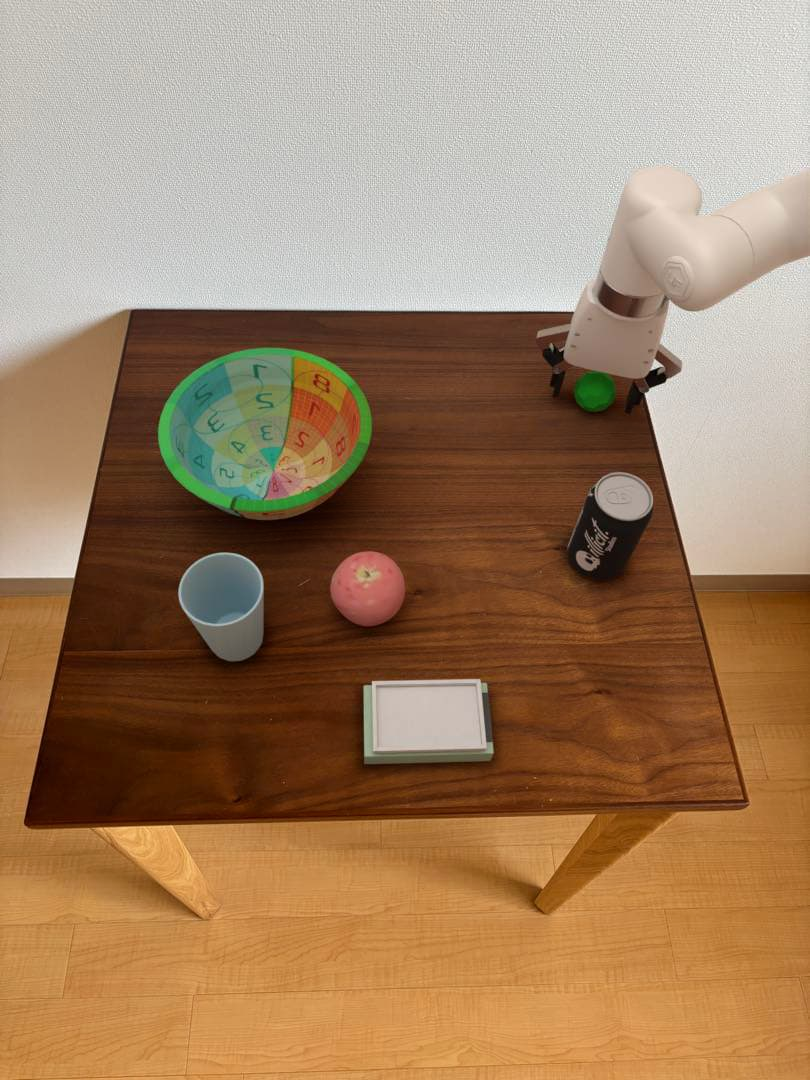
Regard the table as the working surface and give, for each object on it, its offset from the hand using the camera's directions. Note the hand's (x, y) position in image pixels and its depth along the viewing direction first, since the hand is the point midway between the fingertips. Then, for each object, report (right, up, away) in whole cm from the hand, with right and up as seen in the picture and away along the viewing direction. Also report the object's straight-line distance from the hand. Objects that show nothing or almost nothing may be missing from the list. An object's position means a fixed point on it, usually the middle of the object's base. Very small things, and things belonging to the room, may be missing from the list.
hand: (592, 397), depth 101 cm
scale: (-21, -36, -22) cm, 47 cm away
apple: (-27, -25, -15) cm, 40 cm away
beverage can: (-2, -20, -11) cm, 23 cm away
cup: (-41, -28, -18) cm, 52 cm away
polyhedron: (0, -1, +1) cm, 1 cm away
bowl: (-38, -11, -7) cm, 40 cm away
